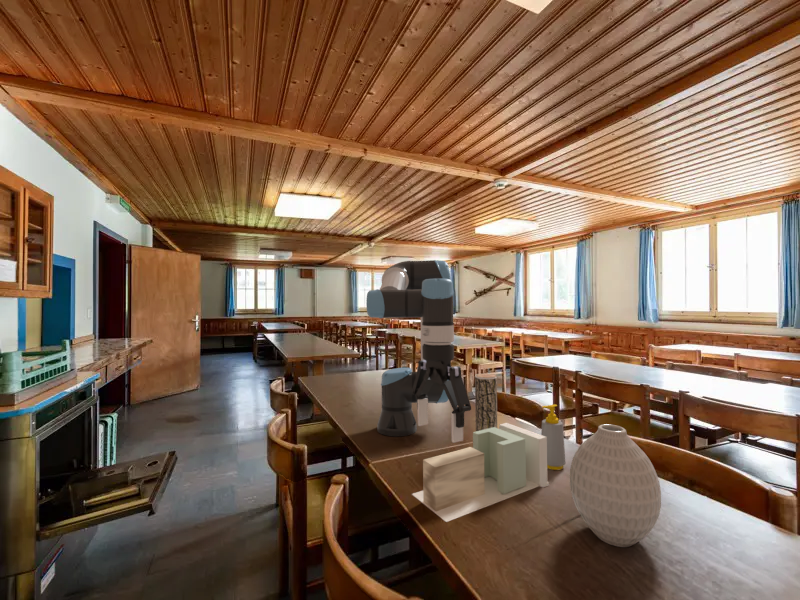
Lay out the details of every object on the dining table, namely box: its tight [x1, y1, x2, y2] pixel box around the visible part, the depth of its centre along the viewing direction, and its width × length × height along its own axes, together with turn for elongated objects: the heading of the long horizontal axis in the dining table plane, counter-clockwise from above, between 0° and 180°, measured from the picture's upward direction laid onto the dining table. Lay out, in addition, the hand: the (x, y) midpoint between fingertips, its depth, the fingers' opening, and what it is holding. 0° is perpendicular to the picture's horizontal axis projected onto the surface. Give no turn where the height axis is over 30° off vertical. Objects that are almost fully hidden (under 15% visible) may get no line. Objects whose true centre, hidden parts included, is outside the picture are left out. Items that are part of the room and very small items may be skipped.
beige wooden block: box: [422, 446, 485, 511], centre depth 90 cm, size 5×15×10 cm, turn 121°
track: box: [411, 422, 550, 523], centre depth 95 cm, size 14×34×13 cm, turn 121°
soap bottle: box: [540, 403, 566, 471], centre depth 109 cm, size 7×7×18 cm
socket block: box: [472, 427, 526, 494], centre depth 98 cm, size 11×8×12 cm
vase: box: [569, 423, 662, 548], centre depth 76 cm, size 16×16×22 cm
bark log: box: [474, 373, 498, 432], centre depth 119 cm, size 7×7×25 cm
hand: (439, 432), depth 88 cm, fingers open, 13 cm apart
